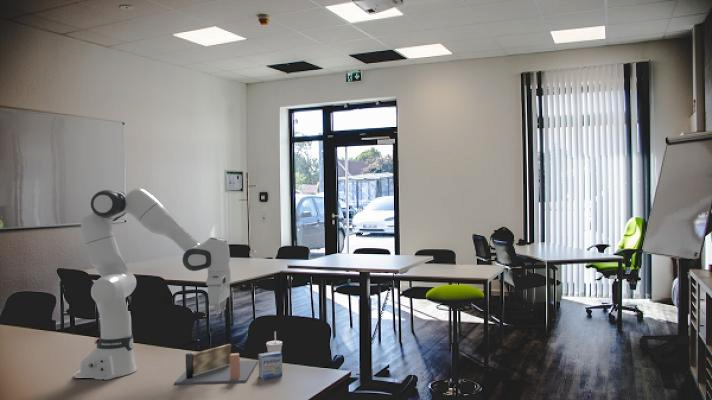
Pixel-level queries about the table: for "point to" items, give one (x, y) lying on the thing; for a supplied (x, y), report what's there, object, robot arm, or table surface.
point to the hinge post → (189, 366)
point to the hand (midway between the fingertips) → (220, 312)
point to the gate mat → (219, 375)
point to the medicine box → (270, 365)
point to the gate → (211, 358)
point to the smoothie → (274, 345)
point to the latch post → (234, 366)
